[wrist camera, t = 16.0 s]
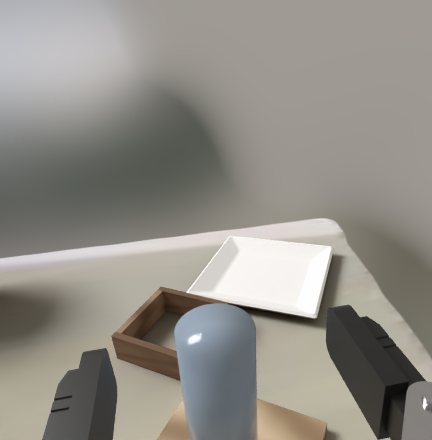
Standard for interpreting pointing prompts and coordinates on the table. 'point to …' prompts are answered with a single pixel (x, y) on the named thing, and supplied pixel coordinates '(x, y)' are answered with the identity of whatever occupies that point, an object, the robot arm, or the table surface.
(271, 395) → the table surface
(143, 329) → the holder
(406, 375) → the robot arm
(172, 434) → the wooden board
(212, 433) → the cylinder
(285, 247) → the plate
